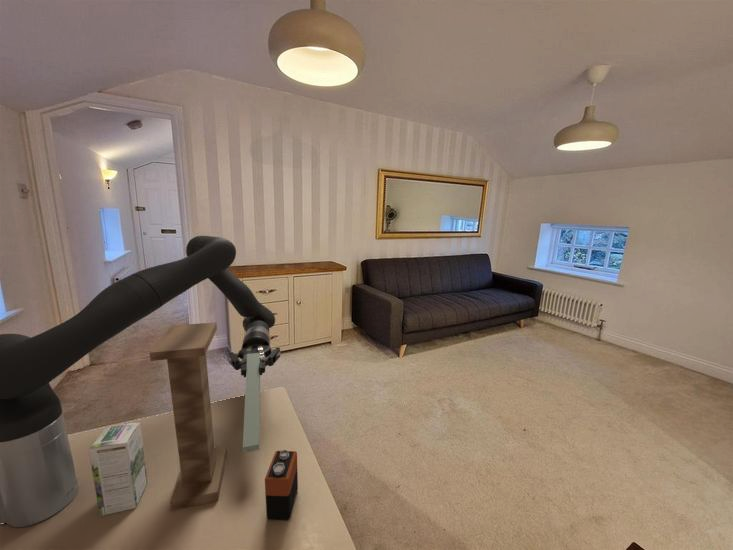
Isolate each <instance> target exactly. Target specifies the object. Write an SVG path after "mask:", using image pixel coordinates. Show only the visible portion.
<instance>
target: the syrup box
mask: <svg viewBox="0 0 733 550" xmlns="http://www.w3.org/2000/svg"><path fill="white" fill-rule="evenodd" d="M144 451H145V450H144V444H143V436H142V428H141V423H140V422H130V423H122V424H121V423H120V424H114V425H111V426H106V427H105V428H104V429H103V431H102V432H101V433H100V434H99V436H98V437H97V439H96V440H95V441H94V443H93V444H92V445H91V446H90V448H89V449H88V454H89V458H90V459H89V460H90V461H89V462H90V465H91V473H92V478H93V483H94V489H95V490H94V491H95V495H96V501H97V507H98V512H99V513H98V514H99V517H103V516H107V515H113V514H116V513H121V512H125V511H129V510H132V509H136V508H137V507H138V505H139V502H140V500H141V498H142V495H143V493H144V492H145V489H146V487H147V484H148V475H147V468H146V460H145V452H144Z"/></svg>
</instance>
